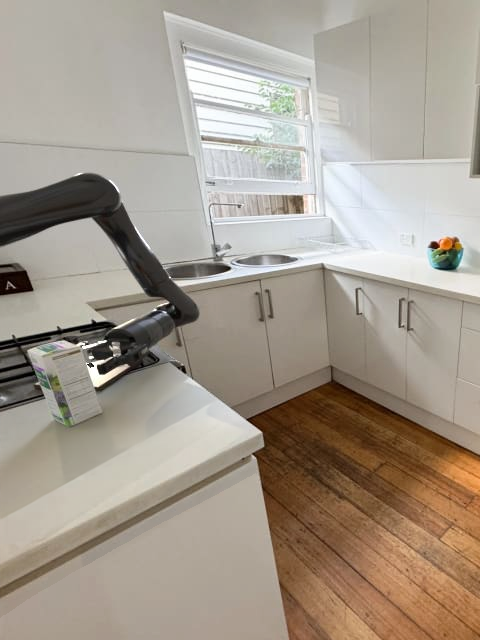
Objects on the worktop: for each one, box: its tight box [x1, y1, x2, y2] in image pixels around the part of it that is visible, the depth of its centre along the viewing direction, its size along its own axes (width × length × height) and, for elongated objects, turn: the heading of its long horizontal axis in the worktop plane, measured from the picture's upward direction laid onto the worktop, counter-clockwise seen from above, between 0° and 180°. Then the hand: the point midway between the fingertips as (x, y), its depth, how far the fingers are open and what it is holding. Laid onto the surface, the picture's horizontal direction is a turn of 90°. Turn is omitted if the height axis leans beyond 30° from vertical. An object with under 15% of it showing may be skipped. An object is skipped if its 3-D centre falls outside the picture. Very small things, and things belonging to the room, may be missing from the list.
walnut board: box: [33, 355, 144, 392], centre depth 88 cm, size 14×14×1 cm
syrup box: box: [27, 340, 103, 428], centre depth 70 cm, size 6×6×14 cm
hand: (77, 369), depth 72 cm, fingers open, 8 cm apart
